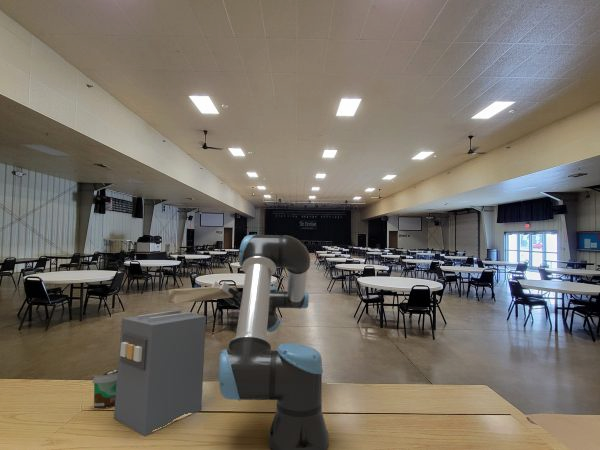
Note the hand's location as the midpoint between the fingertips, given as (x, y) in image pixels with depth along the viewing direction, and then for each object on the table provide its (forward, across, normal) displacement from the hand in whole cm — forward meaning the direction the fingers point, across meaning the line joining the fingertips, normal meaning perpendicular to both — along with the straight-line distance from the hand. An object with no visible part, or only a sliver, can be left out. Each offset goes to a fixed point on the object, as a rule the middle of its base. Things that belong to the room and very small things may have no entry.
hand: (217, 285), depth 114 cm
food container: (+3, +18, -44) cm, 48 cm away
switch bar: (+2, 0, -7) cm, 7 cm away
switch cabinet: (-1, 0, -42) cm, 42 cm away
